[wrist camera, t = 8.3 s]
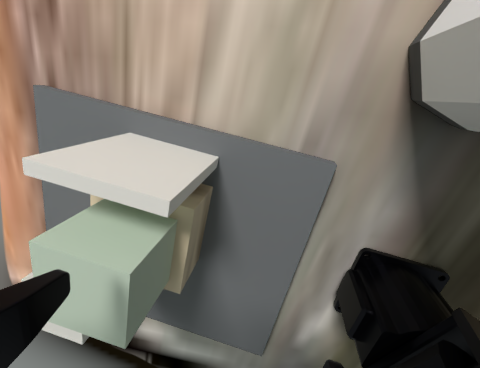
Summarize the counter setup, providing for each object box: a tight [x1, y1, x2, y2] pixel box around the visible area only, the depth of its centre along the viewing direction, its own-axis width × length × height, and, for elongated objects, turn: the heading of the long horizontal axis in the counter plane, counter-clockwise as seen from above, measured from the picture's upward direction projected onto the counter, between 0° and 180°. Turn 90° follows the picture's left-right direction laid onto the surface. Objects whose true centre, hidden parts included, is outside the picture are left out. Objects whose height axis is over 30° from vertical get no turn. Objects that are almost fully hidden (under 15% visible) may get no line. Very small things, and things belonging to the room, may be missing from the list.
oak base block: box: [90, 183, 213, 294], centre depth 18 cm, size 7×7×4 cm
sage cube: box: [29, 199, 178, 349], centre depth 14 cm, size 5×5×5 cm
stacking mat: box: [22, 85, 337, 356], centre depth 18 cm, size 23×20×9 cm
